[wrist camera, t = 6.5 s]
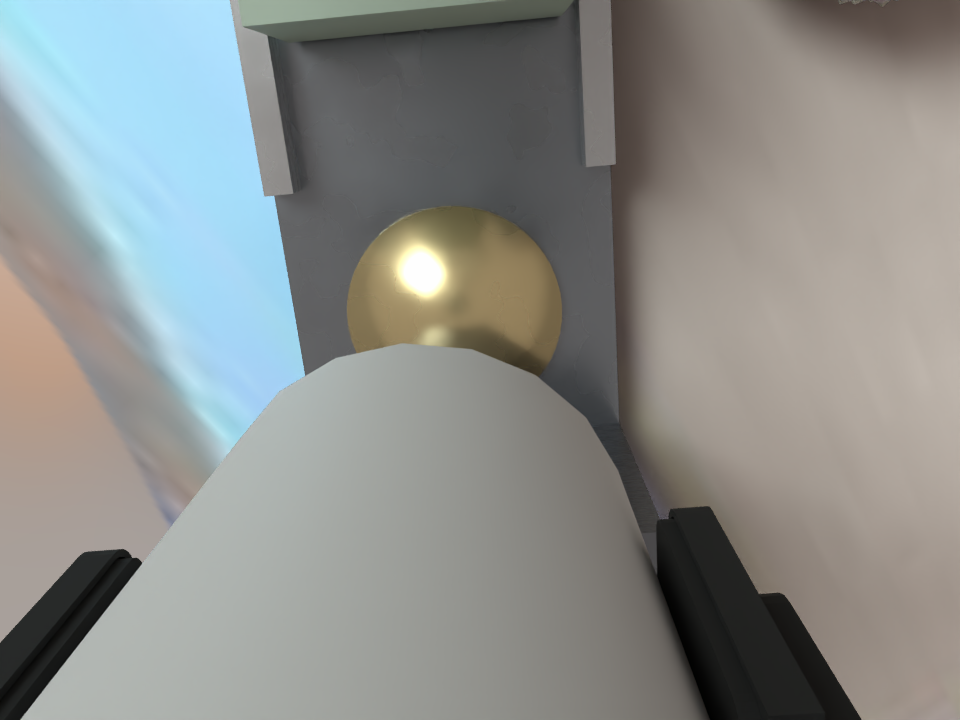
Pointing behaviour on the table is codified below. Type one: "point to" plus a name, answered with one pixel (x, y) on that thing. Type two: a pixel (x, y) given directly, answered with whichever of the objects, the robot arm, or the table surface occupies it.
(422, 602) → the can
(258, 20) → the grey-green handled block
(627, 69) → the table surface
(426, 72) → the base
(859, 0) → the sea urchin shell
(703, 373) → the table surface
